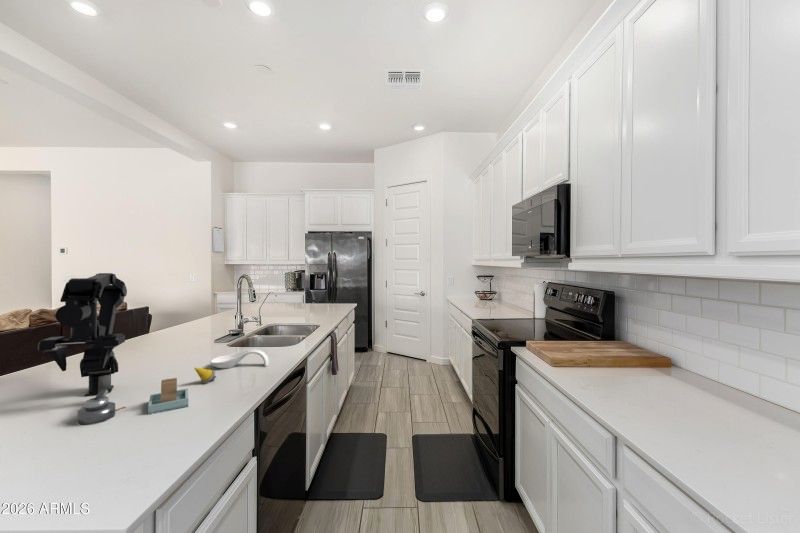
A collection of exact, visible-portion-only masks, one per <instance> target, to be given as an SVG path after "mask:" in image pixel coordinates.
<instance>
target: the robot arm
mask: <svg viewBox="0 0 800 533" xmlns="http://www.w3.org/2000/svg"><path fill="white" fill-rule="evenodd" d="M127 295H128V289H127V286H126V283H125V282H124V281H123V280H121V279H119V278H117V275H116V274H115V273H112V272H109V273H107V272H106V273H105V272H104V273H103V272H102V273H101V272H99V273H96V274H95V275H92V276H90V277H89V276H88V277H87V278H84V277H83V278H80V277H79V278H78V277H77V278H74V277H73V278H70V279H69V280H68V282H66V284H65V286H64V288H63V291H62V295H61V297H60V303H65V304H64V305H61V306H60V307H58V309H57V310H56V312H55V319H56V321H57V322H58V323H60V324H62V325H65V326H68V328H69V329H70V337H68V339H67V337H66V336H65V335H64V336H50V337H48V338H45V339H42V340H40V341H39V342H38V344H37V351H43V354H48V355H49V356H50V357H51V359H53V361H55V363H56V364H57V366H58V367H59V368H60V370H61V371H62V372H65V371H67V364H68V363H67V349H68V346H80V345H83V346H84V345H91V346H90V347H88V348H87V347H86V349H85V350H84V351H83V357H82V359H80V362H79V370H80V371H79V372H80V377H81V378H84V377H85V378H86V377H88V390H87V391H86V393H85V394H84V396H85V397H88V396H95V395H96V396H97V394H98V392H99V391H98V377H100V376H104V375H111V376H112V375H114V374H115V373H119V362H118V360H117V358H116V356H115V352H114V349H115V348H117V347H119V346H120V345H121V344H123V343H125V342H126V335H125V334H124V333H123V332H122V333H113V332H114V326H115V325H114V324H115V320H116V316H117V315H116V314H117V309H118V308H119V307H120V306H121V305H122V304H124V301H125V297H127ZM97 302H98V303H97ZM98 304H99V305H100V307H99V312H98ZM114 387H115V386H114V384H111V389H110V390H108V393H112V391H113V389H114Z"/></svg>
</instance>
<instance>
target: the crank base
mask: <svg viewBox="0 0 800 533" xmlns="http://www.w3.org/2000/svg"><path fill="white" fill-rule="evenodd" d="M125 407H126V406H122V407H119V408H116V403H115V402H113V401H109V405H108V406H107V407H104V408H102V409H98V410H93V411H86V410H85V406H84V407H81V408H80V409H78V410H77V411H76V412H77V413H76V414H77V416H76V423H77V425H80V426H90V425H96V424H100V423H102V422H106V421H109V420H110V418H111V419H113V418H114V417H115V416H116V412H117V411H120V409H121V410H123V409H125ZM108 419H109V420H108Z"/></svg>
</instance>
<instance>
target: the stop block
mask: <svg viewBox="0 0 800 533" xmlns="http://www.w3.org/2000/svg"><path fill="white" fill-rule="evenodd" d="M177 385H178V378H177V377H174V378H168V379H167V378H166V379H161V384H160V393H161V403H164V402H170V401H175V400H177V390H178V386H177Z"/></svg>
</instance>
